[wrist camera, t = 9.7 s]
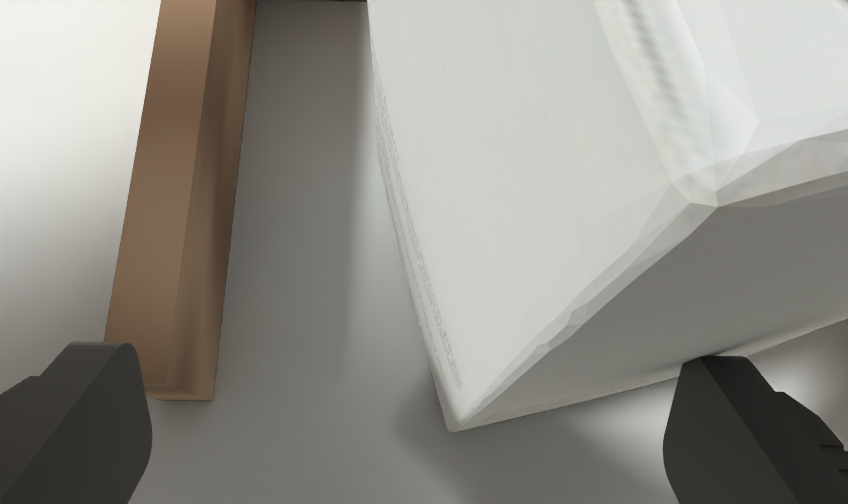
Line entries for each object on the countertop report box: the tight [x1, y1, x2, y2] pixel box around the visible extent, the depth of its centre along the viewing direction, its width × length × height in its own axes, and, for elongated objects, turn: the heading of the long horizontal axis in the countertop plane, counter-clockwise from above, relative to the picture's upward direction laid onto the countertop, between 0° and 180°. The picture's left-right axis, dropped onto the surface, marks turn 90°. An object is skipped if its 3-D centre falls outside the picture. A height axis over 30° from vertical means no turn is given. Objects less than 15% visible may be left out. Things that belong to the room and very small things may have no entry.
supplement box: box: [367, 0, 848, 432], centre depth 9 cm, size 7×7×13 cm
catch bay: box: [104, 0, 367, 400], centre depth 15 cm, size 12×18×3 cm
